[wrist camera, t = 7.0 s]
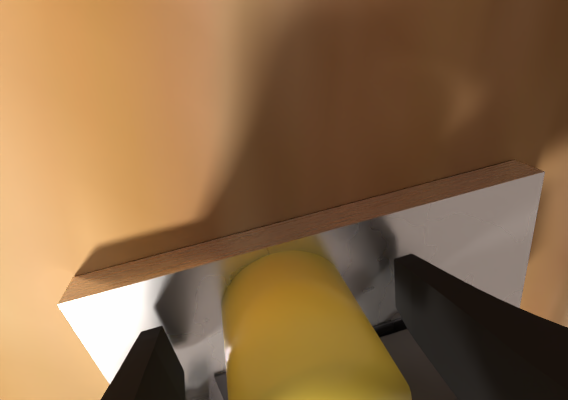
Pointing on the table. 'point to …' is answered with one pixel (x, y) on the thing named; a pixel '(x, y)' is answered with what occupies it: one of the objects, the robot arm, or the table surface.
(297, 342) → the cap
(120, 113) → the table surface
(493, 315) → the robot arm
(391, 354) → the block
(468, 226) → the panel
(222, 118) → the table surface
